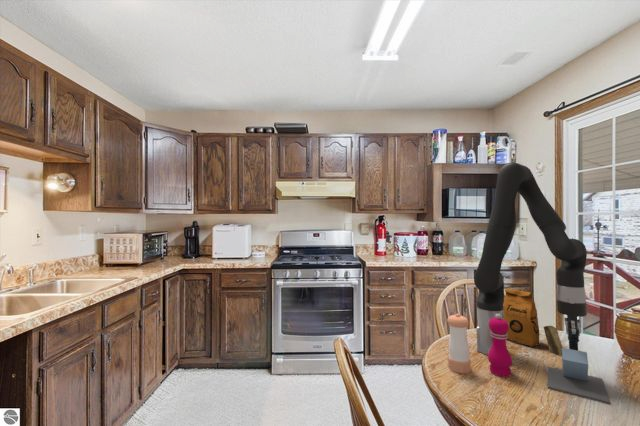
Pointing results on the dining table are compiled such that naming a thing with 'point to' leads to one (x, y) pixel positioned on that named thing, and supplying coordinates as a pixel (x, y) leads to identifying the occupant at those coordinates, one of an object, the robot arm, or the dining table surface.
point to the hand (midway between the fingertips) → (573, 352)
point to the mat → (577, 386)
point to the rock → (553, 340)
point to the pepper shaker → (458, 344)
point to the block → (575, 364)
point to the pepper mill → (499, 348)
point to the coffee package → (521, 317)
